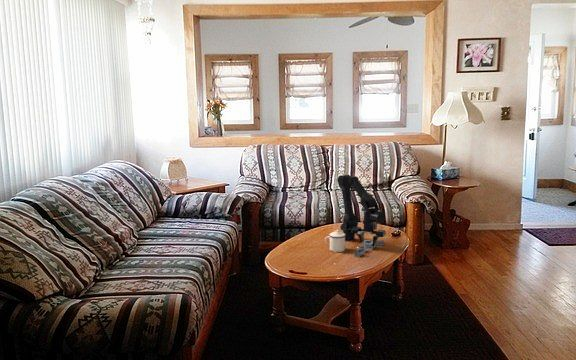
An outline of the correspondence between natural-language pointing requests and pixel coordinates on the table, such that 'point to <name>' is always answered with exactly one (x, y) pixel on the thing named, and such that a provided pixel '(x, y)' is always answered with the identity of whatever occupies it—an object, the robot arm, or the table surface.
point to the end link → (368, 244)
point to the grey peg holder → (379, 242)
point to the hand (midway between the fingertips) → (368, 246)
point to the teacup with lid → (336, 241)
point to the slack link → (363, 249)
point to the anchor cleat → (358, 252)
